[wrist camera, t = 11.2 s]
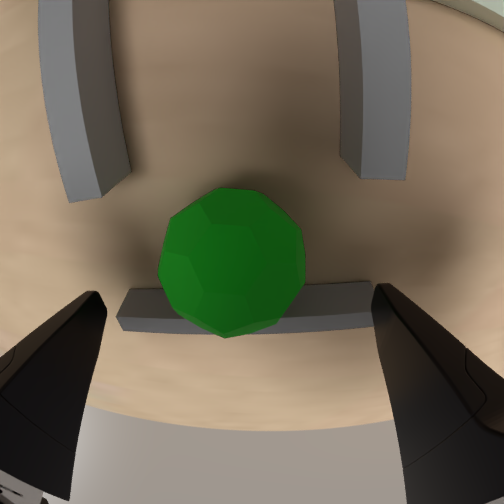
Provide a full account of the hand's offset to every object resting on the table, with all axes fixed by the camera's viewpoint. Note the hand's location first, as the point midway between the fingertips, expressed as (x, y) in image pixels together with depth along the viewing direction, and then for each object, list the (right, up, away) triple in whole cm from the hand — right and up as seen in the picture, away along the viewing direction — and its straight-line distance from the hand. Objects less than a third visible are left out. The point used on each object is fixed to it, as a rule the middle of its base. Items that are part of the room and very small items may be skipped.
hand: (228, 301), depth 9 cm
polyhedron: (0, +3, +3) cm, 4 cm away
